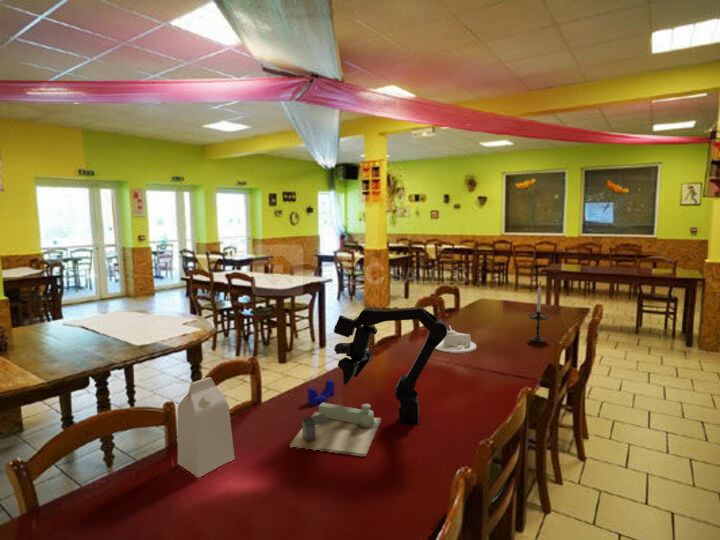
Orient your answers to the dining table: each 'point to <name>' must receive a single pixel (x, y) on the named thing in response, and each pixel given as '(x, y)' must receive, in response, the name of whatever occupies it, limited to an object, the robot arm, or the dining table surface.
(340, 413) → the latch bar
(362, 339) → the robot arm
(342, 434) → the base board
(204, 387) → the milk
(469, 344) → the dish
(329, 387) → the cable clip
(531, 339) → the candlestick
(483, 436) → the dining table surface
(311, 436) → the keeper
